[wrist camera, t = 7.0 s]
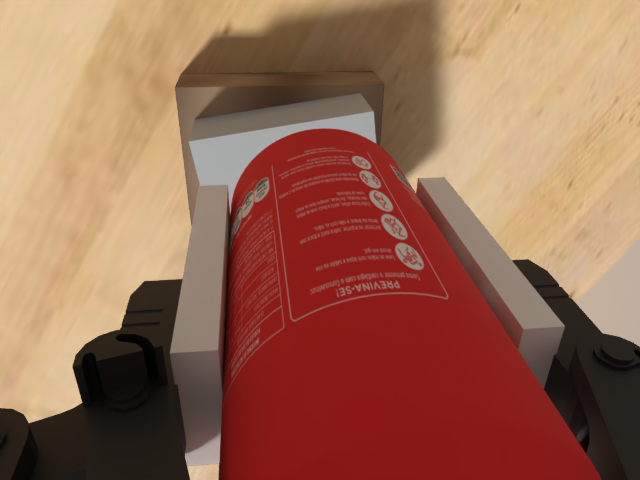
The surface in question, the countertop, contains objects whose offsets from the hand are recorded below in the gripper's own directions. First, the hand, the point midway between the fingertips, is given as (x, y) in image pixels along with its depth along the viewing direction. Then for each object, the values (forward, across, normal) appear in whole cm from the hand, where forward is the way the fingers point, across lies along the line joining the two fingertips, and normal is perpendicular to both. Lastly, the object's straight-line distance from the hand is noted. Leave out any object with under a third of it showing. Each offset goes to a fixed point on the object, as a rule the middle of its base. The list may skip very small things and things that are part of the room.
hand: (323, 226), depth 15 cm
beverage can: (+2, 0, 0) cm, 2 cm away
